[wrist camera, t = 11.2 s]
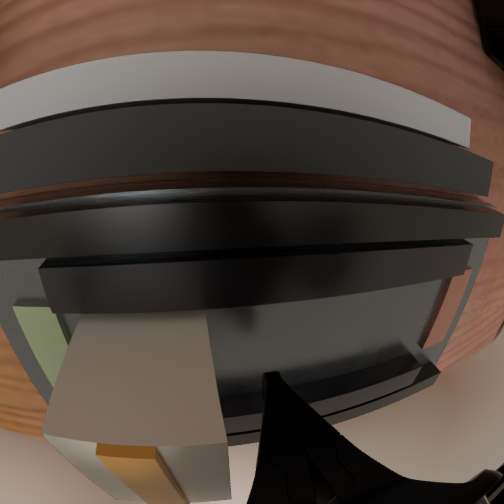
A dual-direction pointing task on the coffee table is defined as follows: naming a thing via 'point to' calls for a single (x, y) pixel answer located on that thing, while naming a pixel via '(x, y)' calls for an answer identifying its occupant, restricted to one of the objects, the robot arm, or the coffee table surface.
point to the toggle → (142, 408)
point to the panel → (253, 281)
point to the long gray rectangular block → (228, 123)
